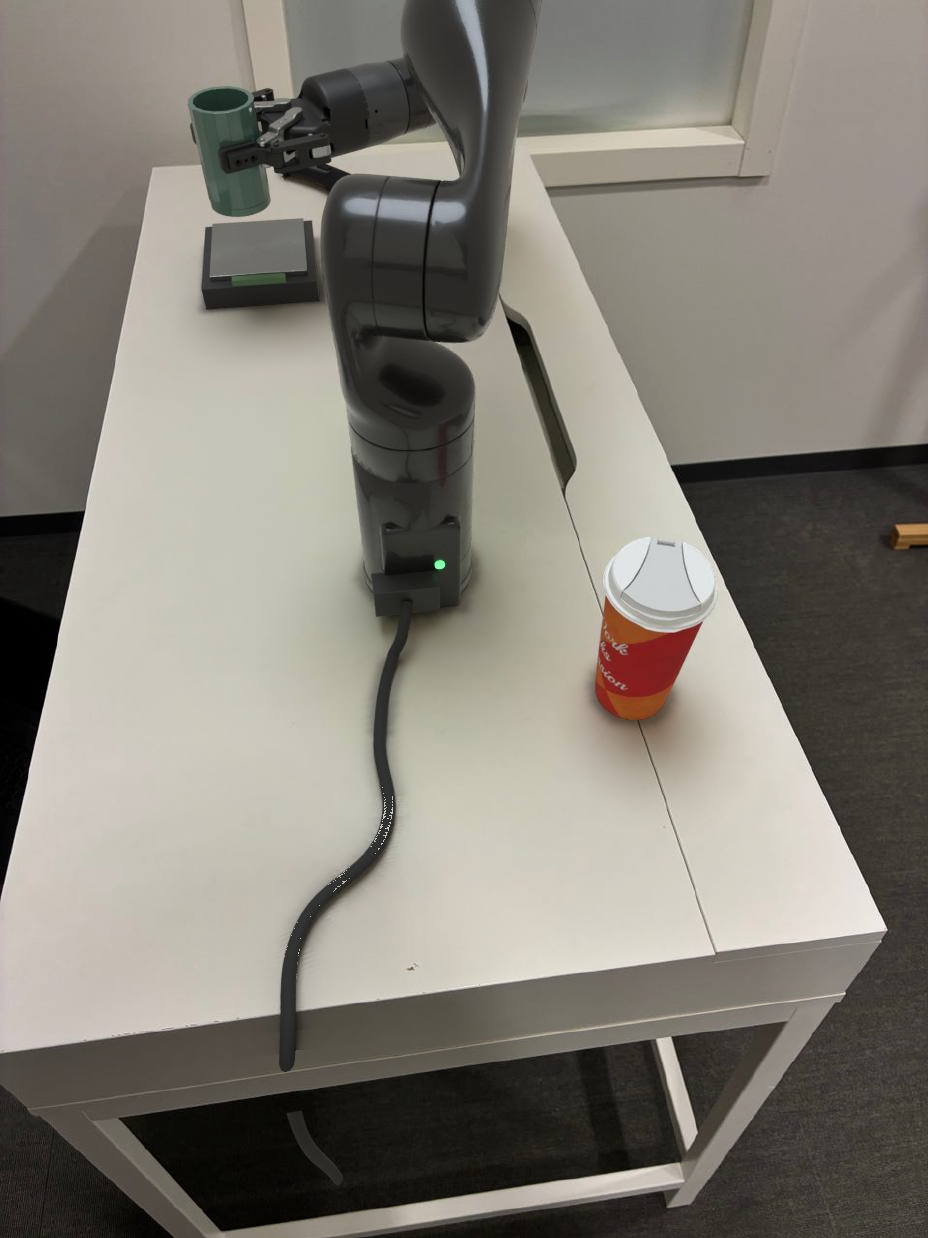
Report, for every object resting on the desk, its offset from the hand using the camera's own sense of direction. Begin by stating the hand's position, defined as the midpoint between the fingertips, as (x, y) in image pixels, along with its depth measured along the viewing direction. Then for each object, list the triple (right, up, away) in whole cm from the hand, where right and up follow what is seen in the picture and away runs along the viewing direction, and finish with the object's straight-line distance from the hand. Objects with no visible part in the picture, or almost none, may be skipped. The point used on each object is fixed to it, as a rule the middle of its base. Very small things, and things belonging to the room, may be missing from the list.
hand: (207, 148), depth 87 cm
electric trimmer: (+7, +12, +33) cm, 36 cm away
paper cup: (+38, -52, -17) cm, 67 cm away
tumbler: (+2, -3, +6) cm, 6 cm away
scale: (+1, -5, +19) cm, 20 cm away
